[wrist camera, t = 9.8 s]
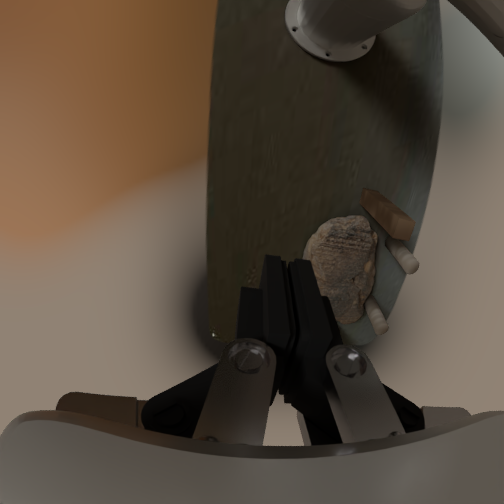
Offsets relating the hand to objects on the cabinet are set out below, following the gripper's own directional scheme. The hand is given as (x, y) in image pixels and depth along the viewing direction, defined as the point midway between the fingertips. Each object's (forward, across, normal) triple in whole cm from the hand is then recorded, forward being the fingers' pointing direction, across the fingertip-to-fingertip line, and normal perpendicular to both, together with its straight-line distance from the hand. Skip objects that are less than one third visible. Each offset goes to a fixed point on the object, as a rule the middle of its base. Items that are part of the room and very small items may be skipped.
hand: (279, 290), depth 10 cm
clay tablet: (+30, -14, +15) cm, 36 cm away
